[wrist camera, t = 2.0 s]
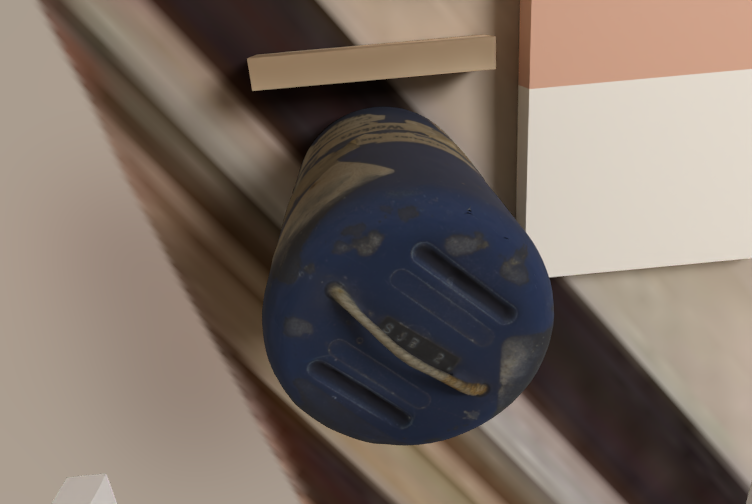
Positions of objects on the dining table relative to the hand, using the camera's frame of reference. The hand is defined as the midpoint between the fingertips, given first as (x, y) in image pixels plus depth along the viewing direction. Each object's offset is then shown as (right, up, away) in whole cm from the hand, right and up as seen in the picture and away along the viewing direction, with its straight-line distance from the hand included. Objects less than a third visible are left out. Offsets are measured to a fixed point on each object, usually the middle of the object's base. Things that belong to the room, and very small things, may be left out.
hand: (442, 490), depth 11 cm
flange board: (+14, +15, +19) cm, 28 cm away
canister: (-1, +9, +21) cm, 23 cm away
